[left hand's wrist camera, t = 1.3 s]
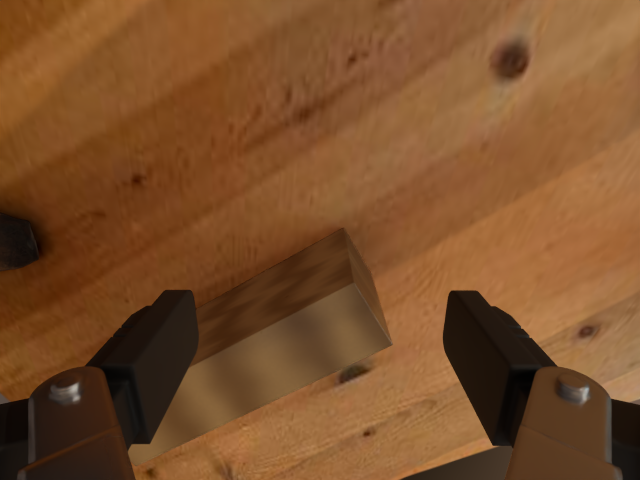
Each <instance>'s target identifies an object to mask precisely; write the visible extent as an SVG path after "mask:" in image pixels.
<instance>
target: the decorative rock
mask: <svg viewBox="0 0 640 480" xmlns="http://www.w3.org/2000/svg"><path fill="white" fill-rule="evenodd" d="M38 259H39V253H38V248H37V244H36V240H35V239H34V235H33V232H32V230H31V227H30V222H29V221H27V220H21V219H16V218H13V217H10V216H8V215H5V214H3V213H0V271H4V270H11V269H18V268H22V267H24V266H26V265H28V264H30V263H32V262H34V261H36V260H38Z"/></svg>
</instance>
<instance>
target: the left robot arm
mask: <svg viewBox="0 0 640 480" xmlns="http://www.w3.org/2000/svg"><path fill="white" fill-rule="evenodd" d="M198 343H199V331H198V323H197V316H196V309H195V301H194V296H193V293H192V291H191V290H165V291H164V292H163V293H162V294H161V295H160V296H159V297H158V299H157V300H156V301H155V302H154V303H153V304H152V306H145V307H144V308H142V309H141V310H139V311H137V312H136V313H134V314H132V315H131V316H130V317H129V318H128V319H127V320H126V322H125V323H124V324H123V325H122V328H119V329H118V330H117V331H116V333H115V334H114V335H113V337H111V338H110V339H109V340H108V341H107V342H106V343H105V345H104V346H103V347H102V348H101V349H100V350H99V351H98V352H97V353H96V354H95V356H94V357H93V358H92V359H91V360H90V361H89V362H88V363H87V364H86V365H85V366H84V367H77V368H73V369H69V370H66V371H63V372H61V373H59V374H56V375H54V376H53V377H51V378H49V379H47V380H46V381H44V382H43V383H42V384H41V385H39V386H38V387H37V388H36V389H35V390H34V391H33V393H32V394H31V396H30V398H28V399H23V400H18V401H14V402H9V403H4V404H0V480H136V479H135V476H134V472H133V469H132V465H131V462H130V458H129V455H128V450H129V448H130V446H131V445H132V444H150V443H151V441H152V439H153V437H154V435H155V433H156V431H157V429H158V427H159V425H160V423H161V421H162V420H163V418H164V416H165V414H166V412H167V410H168V408H169V406H170V404H171V402H172V400H173V398H174V396H175V394H176V392H177V390H178V388H179V386H180V384H181V382H182V380H183V378H184V376H185V374H186V372H187V370H188V368H189V366H190V364H191V362H192V360H193V358H194V356H195V354H196V352H197V348H198ZM443 345H444V350H445V353H446V355H447V357H448V359H449V361H450V363H451V365H452V367H453V369H454V371H455V373H456V375H457V377H458V379H459V381H460V383H461V384H462V386H463V388H464V390H465V392H466V394H467V396H468V398H469V400H470V402H471V404H472V406H473V408H474V410H475V412H476V414H477V416H478V418H479V420H480V422H481V424H482V425H483V427H484V429H485V431H486V433H487V435H488V437H489V439H490V441H491V443H492V445H493V446H512V448H513V451H512V455H511V458H510V462H509V465H508V469H507V472H506V476H505V479H504V480H640V405H638V404H633V403H628V402H624V401H619V400H614V399H611V398H610V396H609V394H608V393H607V391H606V390H605V389H604V388H603V387H602V386H601V385H599V384H598V383H597V382H596V381H594V380H593V379H591V378H589V377H587V376H586V375H584V374H581V373H579V372H577V371H574V370H571V369H567V368H563V367H558V366H557V365H556V364H555V363H554V362H553V361H552V360H551V359H550V358H549V357H548V355H547V354H546V353H545V352H544V351H543V350H542V349H541V348H540V347H539V346H538V345H537V344H536V342H535V341H534V340H533V339H532V338H529V335H528V334H527V333H526V332H525V330H524V329H521V326H520V325H519V324H518V323H517V322H516V321H515V320H514V319H513V317H512V316H511V315H509V314H507V313H506V312H504V311H502V310H501V309H499V308H497V307H496V306H490V305H489V304H488V302H487V301H486V300H485V299H484V298H483V297H482V295H481V294H480V293H479V292H478V291H451V292H450V293H449V296H448V302H447V309H446V316H445V323H444V330H443Z"/></svg>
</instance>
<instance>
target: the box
mask: <svg viewBox="0 0 640 480" xmlns="http://www.w3.org/2000/svg"><path fill="white" fill-rule="evenodd" d="M196 316H197V323H198V331H199V343H198V348H197V352H196V354H195V356H194V358H193V360H192V362H191V364H190V366H189V368H188V370H187V372H186V374H185V376H184V378H183V380H182V382H181V384H180V386H179V388H178V390H177V392H176V394H175V396H174V398H173V400H172V402H171V404H170V406H169V408H168V410H167V412H166V414H165V416H164V418H163V420H162V421H161V423H160V425H159V427H158V429H157V431H156V433H155V435H154V437H153V439H152V441H151V443H150V444H132V445H131V446H130V448H129V450H128V455H129V458H130V461H131V462H132V463H133V464H134V465H135V466H138V465H140V464H142V463H144V462H146V461H148V460H150V459H152V458H154V457H157V456H159V455H161V454H163V453H165V452H167V451H169V450H171V449H173V448H176V447H178V446H180V445H182V444H184V443H186V442H188V441H190V440H192V439H195V438H197V437H199V436H201V435H203V434H205V433H207V432H209V431H212V430H214V429H216V428H218V427H220V426H222V425H224V424H226V423H228V422H231V421H233V420H235V419H237V418H239V417H241V416H243V415H245V414H247V413H250V412H252V411H254V410H256V409H258V408H260V407H262V406H264V405H266V404H269V403H271V402H273V401H275V400H277V399H279V398H281V397H283V396H285V395H288V394H290V393H292V392H294V391H296V390H298V389H300V388H302V387H304V386H307V385H309V384H311V383H313V382H315V381H317V380H319V379H321V378H323V377H326V376H328V375H330V374H332V373H334V372H336V371H338V370H340V369H342V368H345V367H347V366H349V365H351V364H353V363H355V362H357V361H359V360H362V359H364V358H366V357H368V356H370V355H372V354H374V353H376V352H378V351H381V350H383V349H385V348H387V347H389V346H391V345H392V341H391V337H390V334H389V331H388V327H387V324H386V321H385V317H384V314H383V311H382V307H381V304H380V301H379V298H378V294H377V291H376V288H375V284H374V281H373V278H372V274H371V272H370V271H369V269H368V267H367V266H366V264H365V262H364V261H363V259H362V257H361V256H360V254H359V252H358V251H357V249H356V247H355V246H354V244H353V242H352V241H351V239H350V237H349V236H348V234H347V232H346V231H345V229H344V228H342V229H340V230H338V231H337V232H335V233H333V234H331V235H329V236H328V237H326V238H324V239H322V240H320V241H319V242H317V243H315V244H313V245H311V246H310V247H308V248H306V249H304V250H302V251H301V252H299V253H297V254H295V255H293V256H291V257H290V258H288V259H286V260H284V261H282V262H281V263H279V264H277V265H275V266H273V267H272V268H270V269H268V270H266V271H264V272H263V273H261V274H259V275H257V276H255V277H253V278H252V279H250V280H248V281H246V282H244V283H243V284H241V285H239V286H237V287H235V288H234V289H232V290H230V291H228V292H226V293H225V294H223V295H221V296H219V297H217V298H215V299H214V300H212V301H210V302H208V303H206V304H205V305H203V306H201V307H199V308H197V309H196Z"/></svg>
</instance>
